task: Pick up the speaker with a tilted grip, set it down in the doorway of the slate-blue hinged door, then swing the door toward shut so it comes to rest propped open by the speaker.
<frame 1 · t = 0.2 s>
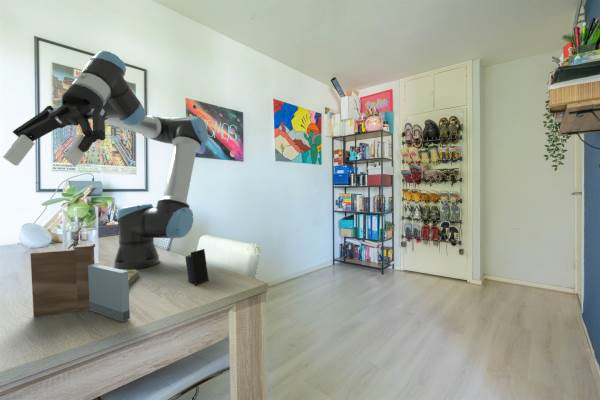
hand: (39, 161, 58), 36 cm above the table, tool tilted 35°, fingers open, 13 cm apart
door: (108, 291, 65), point 6 cm above the table, hinge at 50.0°
decorative tile: (94, 291, 83), on the table
speaker: (195, 281, 89), on the table
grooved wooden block: (87, 307, 70), on the table
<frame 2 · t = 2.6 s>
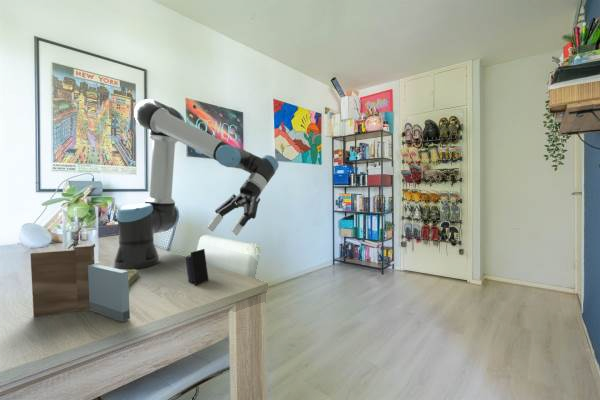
hand: (221, 231, 96), 15 cm above the table, tool tilted 45°, fingers open, 13 cm apart
nothing on the table moved.
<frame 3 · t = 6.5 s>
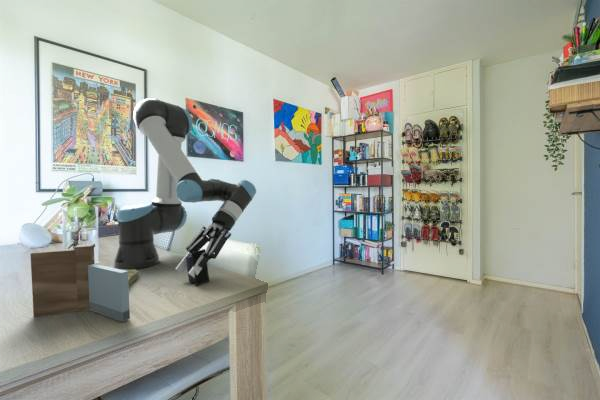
hand: (185, 273, 86), 3 cm above the table, tool tilted 45°, fingers closed on speaker, 6 cm apart
speaker: (196, 282, 89), on the table, touching gripper
everything else where it was.
when the fingers open (5 cm above the table, at t = 12.0 s): speaker drops 1 cm, on the table.
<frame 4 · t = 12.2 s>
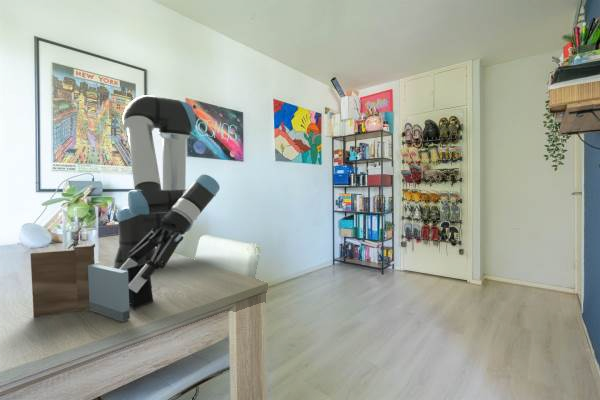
hand: (123, 285, 70), 5 cm above the table, tool tilted 45°, fingers open, 9 cm apart
speaker: (137, 303, 73), on the table
everything else where it was.
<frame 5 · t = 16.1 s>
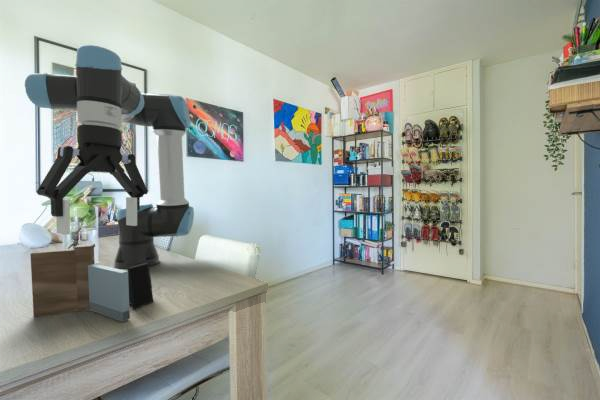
hand: (101, 229, 58), 21 cm above the table, tool pointing down, fingers open, 13 cm apart
nothing on the table moved.
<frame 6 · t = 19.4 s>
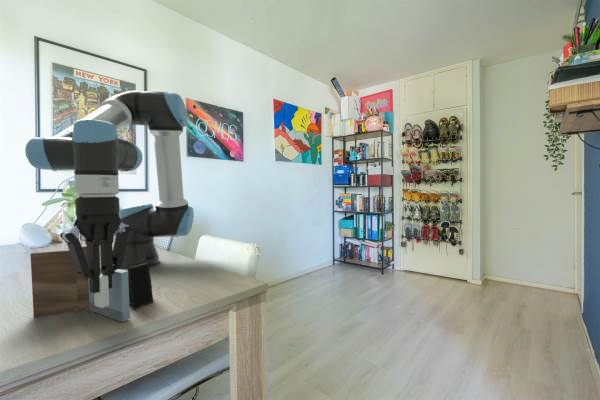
hand: (101, 305, 60), 5 cm above the table, tool pointing down, fingers closed
door: (108, 291, 65), point 6 cm above the table, hinge at 50.0°, touching gripper
everything else where it was.
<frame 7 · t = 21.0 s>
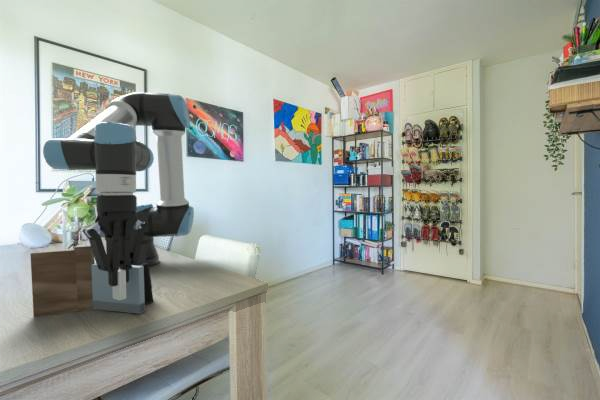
hand: (119, 298, 63), 5 cm above the table, tool pointing down, fingers closed
door: (118, 287, 67), point 6 cm above the table, hinge at 34.8°, touching gripper
everything else where it was.
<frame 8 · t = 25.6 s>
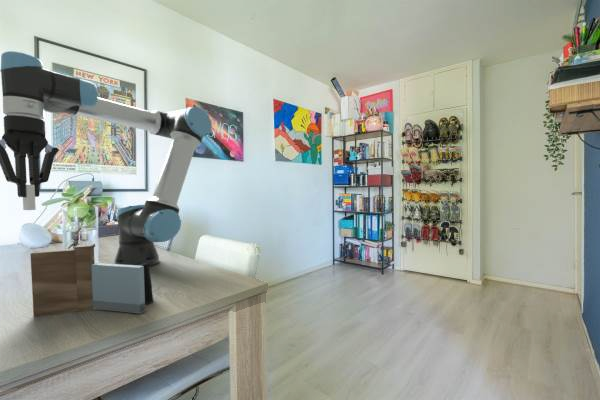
hand: (29, 209, 72), 24 cm above the table, tool pointing down, fingers closed
door: (118, 287, 67), point 6 cm above the table, hinge at 34.6°
everything else where it was.
at the end: door at +35° (first picture: +50°); speaker 11.2 cm from the door (horizontally); speaker tilted 0° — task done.
